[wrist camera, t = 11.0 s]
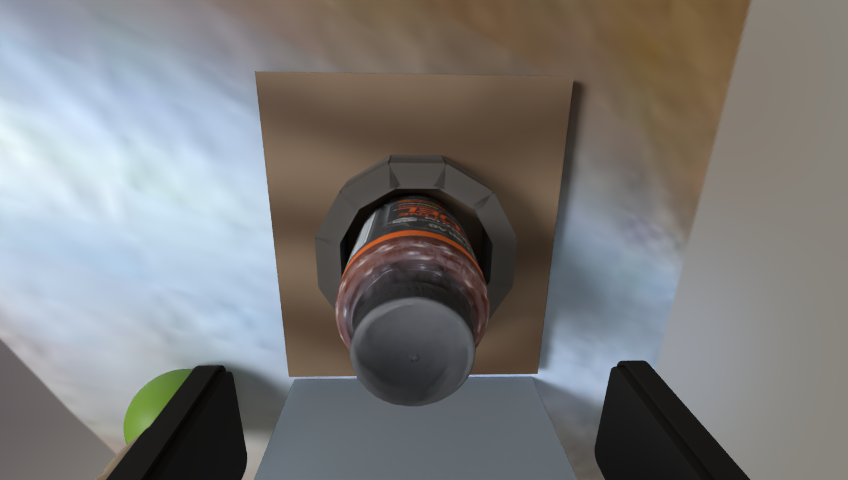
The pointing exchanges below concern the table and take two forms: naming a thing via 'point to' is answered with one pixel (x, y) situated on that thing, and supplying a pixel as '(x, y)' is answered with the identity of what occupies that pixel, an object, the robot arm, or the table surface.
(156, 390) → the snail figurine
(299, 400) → the grey l-shaped stand
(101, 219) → the table surface
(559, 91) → the socket
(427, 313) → the supplement bottle
